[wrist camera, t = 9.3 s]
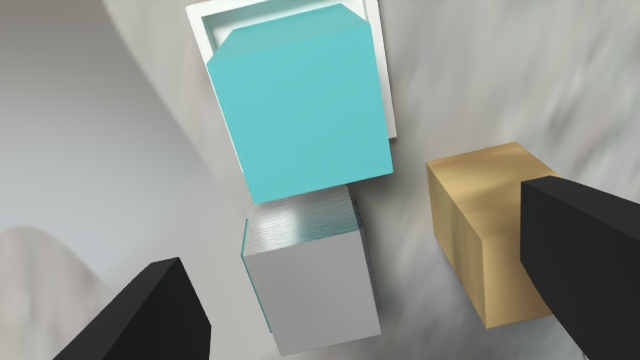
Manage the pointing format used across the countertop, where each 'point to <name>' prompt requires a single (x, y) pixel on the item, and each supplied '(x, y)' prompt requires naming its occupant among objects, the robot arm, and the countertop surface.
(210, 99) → the countertop surface
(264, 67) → the teal block
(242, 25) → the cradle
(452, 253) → the ochre block
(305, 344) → the block
